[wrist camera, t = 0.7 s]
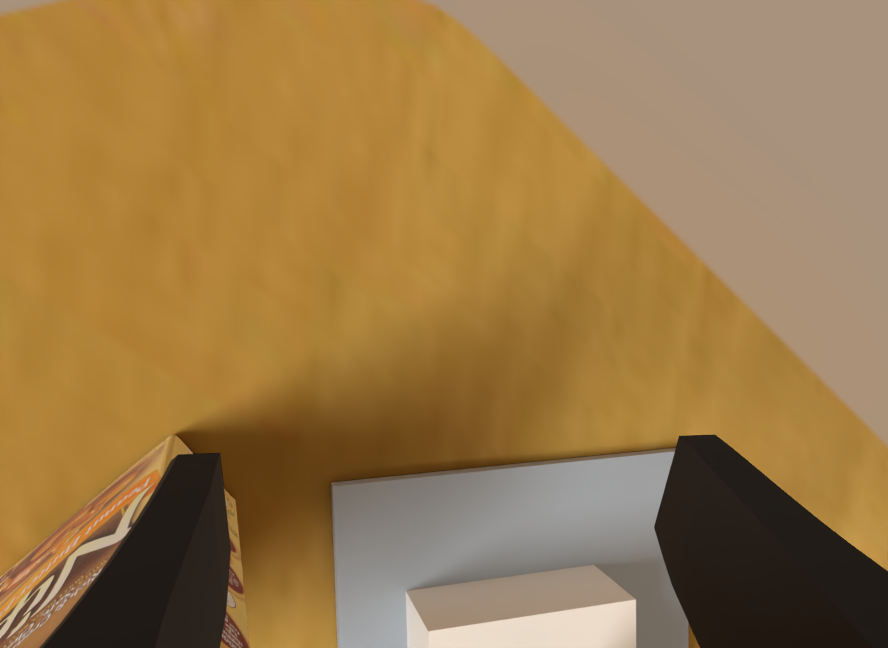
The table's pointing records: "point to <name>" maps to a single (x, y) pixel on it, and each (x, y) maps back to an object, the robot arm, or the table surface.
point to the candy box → (100, 558)
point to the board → (501, 537)
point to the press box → (524, 612)
